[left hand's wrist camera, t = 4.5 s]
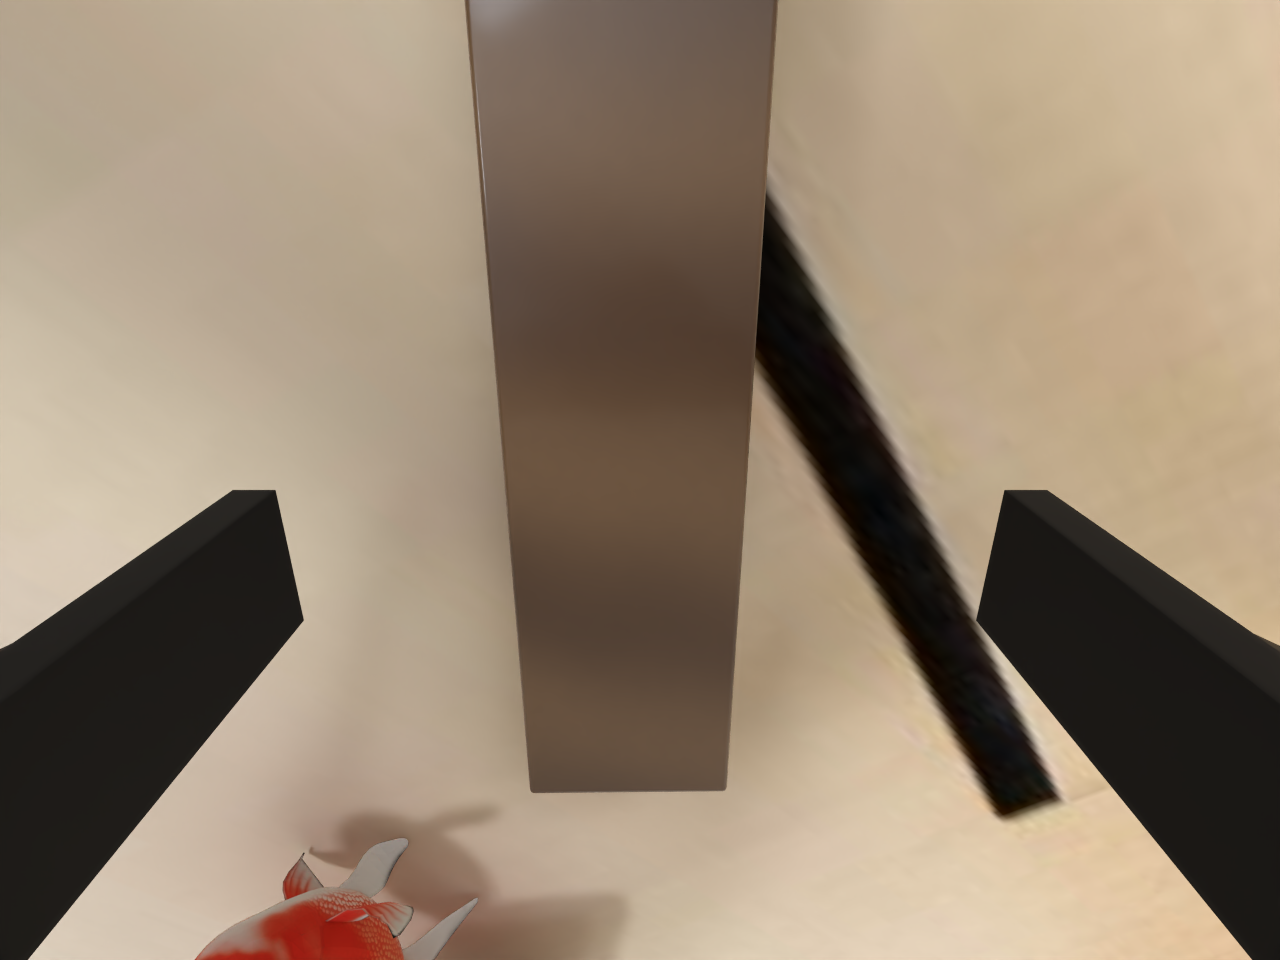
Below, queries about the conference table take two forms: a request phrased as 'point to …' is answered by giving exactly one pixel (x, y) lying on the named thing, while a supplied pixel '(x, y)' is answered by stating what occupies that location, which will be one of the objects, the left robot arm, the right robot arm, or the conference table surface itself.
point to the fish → (334, 919)
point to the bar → (624, 365)
